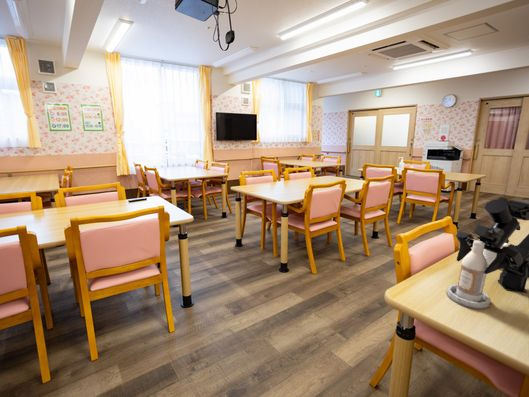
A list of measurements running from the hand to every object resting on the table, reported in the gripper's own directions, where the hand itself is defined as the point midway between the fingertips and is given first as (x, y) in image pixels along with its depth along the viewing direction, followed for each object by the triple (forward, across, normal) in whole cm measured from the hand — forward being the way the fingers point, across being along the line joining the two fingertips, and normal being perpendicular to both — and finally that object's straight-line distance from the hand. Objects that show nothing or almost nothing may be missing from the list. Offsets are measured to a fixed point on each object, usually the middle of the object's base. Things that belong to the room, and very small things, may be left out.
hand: (470, 266), depth 94 cm
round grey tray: (+8, 0, +10) cm, 12 cm away
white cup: (-17, -16, +35) cm, 42 cm away
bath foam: (+7, 0, +9) cm, 12 cm away
